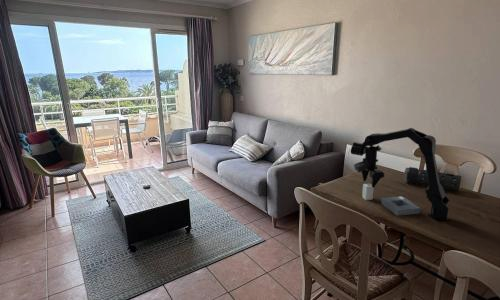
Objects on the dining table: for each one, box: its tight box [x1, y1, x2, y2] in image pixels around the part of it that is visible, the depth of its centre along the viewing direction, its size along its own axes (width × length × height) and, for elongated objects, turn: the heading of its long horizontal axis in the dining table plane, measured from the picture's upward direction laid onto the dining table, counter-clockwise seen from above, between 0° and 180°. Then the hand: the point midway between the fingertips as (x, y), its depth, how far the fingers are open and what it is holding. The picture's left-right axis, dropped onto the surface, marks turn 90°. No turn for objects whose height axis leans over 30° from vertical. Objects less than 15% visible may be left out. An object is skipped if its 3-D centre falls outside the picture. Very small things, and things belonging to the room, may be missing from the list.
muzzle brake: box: [403, 166, 462, 193], centre depth 168 cm, size 10×28×10 cm, turn 50°
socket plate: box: [380, 195, 421, 217], centre depth 145 cm, size 14×12×3 cm
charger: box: [361, 183, 375, 201], centre depth 156 cm, size 4×4×8 cm
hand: (368, 184), depth 155 cm, fingers open, 9 cm apart
